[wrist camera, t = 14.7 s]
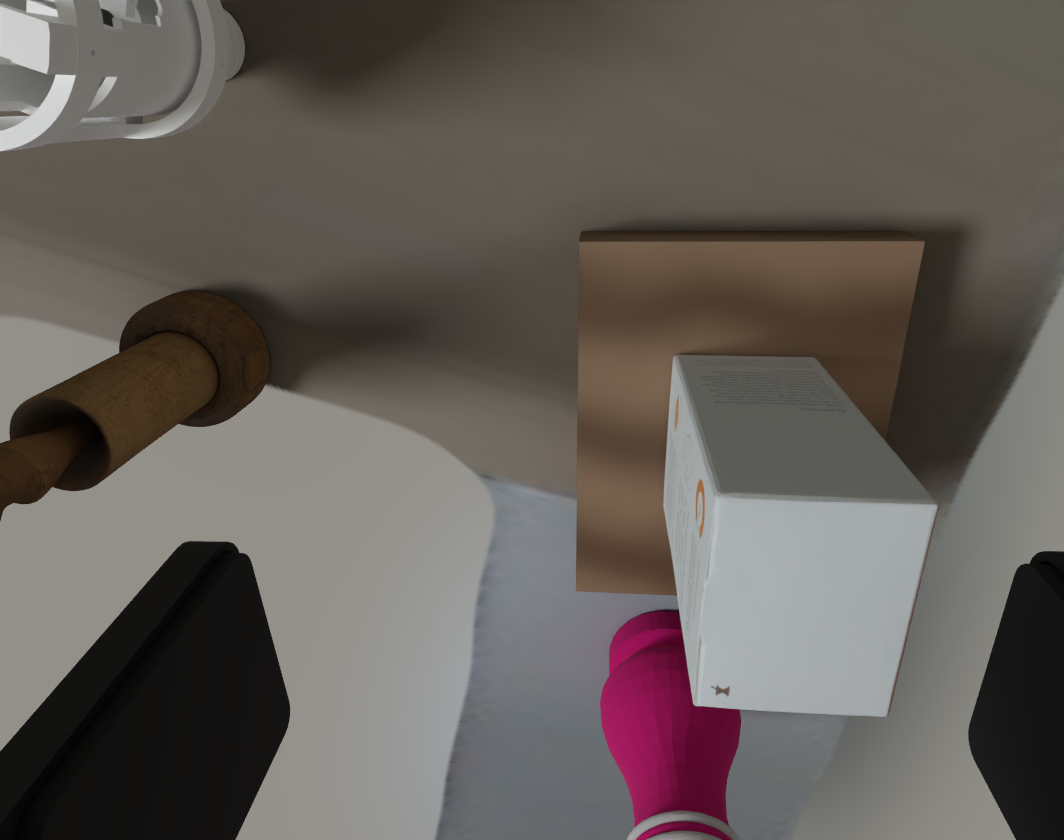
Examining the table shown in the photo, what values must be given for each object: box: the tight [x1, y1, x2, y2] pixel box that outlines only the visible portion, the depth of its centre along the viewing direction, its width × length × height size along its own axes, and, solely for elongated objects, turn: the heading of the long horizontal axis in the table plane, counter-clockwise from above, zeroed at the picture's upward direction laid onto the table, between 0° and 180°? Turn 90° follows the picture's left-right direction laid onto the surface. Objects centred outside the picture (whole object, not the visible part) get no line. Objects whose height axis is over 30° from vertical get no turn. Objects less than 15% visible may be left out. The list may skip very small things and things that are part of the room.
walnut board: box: [576, 231, 925, 595], centre depth 35 cm, size 18×14×2 cm
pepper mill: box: [600, 611, 741, 840], centre depth 33 cm, size 7×7×20 cm
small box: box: [663, 355, 939, 717], centre depth 28 cm, size 8×6×13 cm
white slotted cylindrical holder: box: [0, 0, 245, 151], centre depth 25 cm, size 7×7×15 cm
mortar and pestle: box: [0, 291, 270, 520], centre depth 29 cm, size 7×6×18 cm
